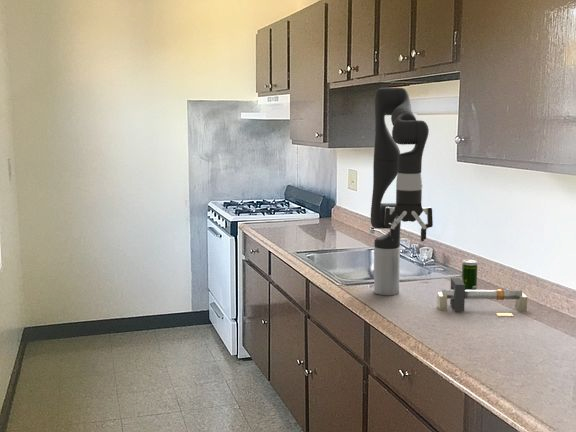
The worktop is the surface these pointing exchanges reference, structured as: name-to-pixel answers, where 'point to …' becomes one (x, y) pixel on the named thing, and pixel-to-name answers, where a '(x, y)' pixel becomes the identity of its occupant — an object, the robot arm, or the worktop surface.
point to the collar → (458, 294)
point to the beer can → (469, 274)
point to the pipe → (486, 294)
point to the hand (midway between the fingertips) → (407, 240)
